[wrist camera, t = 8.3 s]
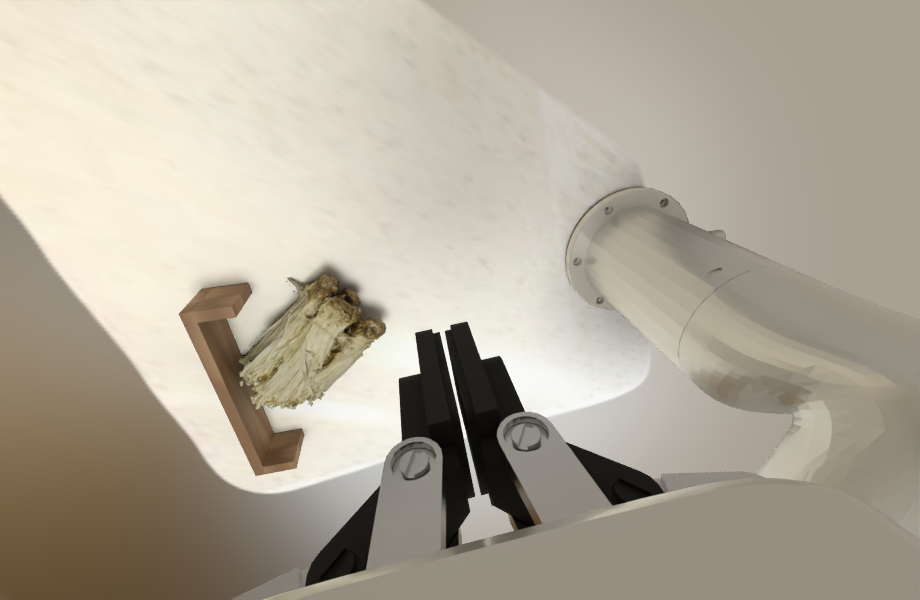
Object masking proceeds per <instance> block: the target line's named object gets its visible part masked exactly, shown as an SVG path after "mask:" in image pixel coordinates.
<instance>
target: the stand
mask: <svg viewBox="0 0 920 600" xmlns="http://www.w3.org/2000/svg"><path fill="white" fill-rule="evenodd" d="M251 293H252V291H251V288H250V286H249V283H243V284H235V285H228V286H221V287H213V288H206V289H201V290H200V291H199V292H198V293H197V295H196V296H195V297H194V298H193V299H192V300H191V301H190V302H189V303H188V304H187V306H186V307H185V308H184V309H183V310H182V311H181V312H180V313H179V316H180V318H181V320H182V322H183V324H184V326H185V328H186V330H187V332H188V334H189V337H190V339H191V341H192V343H193V345H194V347H195V349H196V351H197V353H198V355H199V358H200V360H201V362H202V364H203V366H204V368H205V370H206V372H207V374H208V376H209V379H210V381H211V383H212V385H213V387H214V389H215V391H216V393H217V395H218V397H219V400H220V402H221V404H222V406H223V408H224V410H225V412H226V414H227V416H228V419H229V421H230V423H231V425H232V427H233V429H234V431H235V433H236V435H237V437H238V440H239V442H240V444H241V446H242V448H243V450H244V452H245V454H246V456H247V458H248V461H249V463H250V465H251V467H252V469H253V471H254V473H255V475H256V476H258V475H263V474H268V473H274V472H279V471H284V470H290V469H295V468H297V464H298V459H299V455H300V451H301V446H302V442H303V438H304V433H303V431H302V429H297V430H291V431H286V432H280V433H273V431H272V428H271V426H270V423H269V421H268V419H267V416H266V414H265V411H264V409H263V406H261V405H260V408H259V409H256V410H255V407H256V405H257V404H253V403H252V400H251V399H250V398H251V394H254V393H255V391H253V390H252V385H253V384H251V385H249V386H248V385H246V381H245V380H244V379H243V377H240V375H239V372H240V371H241V372H243V369H244V365H243V364H241V363H239V360H240V358H242V356H241V353H240V351H239V349H238V346H237V344H236V341H235V339H234V336H233V334H232V332H231V329H230V327H229V324H228V322H227V320H226V319H227V318H234V317H237V315H238V313H239V312H240V310H241V309H242V307H243V306H244V304H245V303H246V301H247V300H248V298H249V296H250V295H251ZM241 381H243V386H240V383H239V382H241Z"/></svg>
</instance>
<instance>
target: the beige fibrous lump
mask: <svg viewBox="0 0 920 600" xmlns="http://www.w3.org/2000/svg"><path fill="white" fill-rule="evenodd" d="M288 280H289V281H290V282H291V283H292V284H293V285H294V286H296V288H297V291H298V294H299V298H298V300H297V301H296V302H295V303H294V305H293V306H292V307H291V308H290V309H288V310H287V311H286V313H285V314H284V315H283V316H282V317H281V318H280V319H279V320H278V321H277V322H276V323H274V324H273V325H272V326H271V327H269V328H268V329H267V330H266V331H265V332H264V333H263V334H262V335H261V336H259V337H258V338H257V339H259V338H263V339H262V340H261V341H260V342H259V343H258V344H257V345H255V346H254V347H253V348H251V349H250V351H249V353H248V355H247V356H246V357H244V358H240V360H239V363H241V364H243V365H244V369H243V372H241V371H240V372H239V375H240V377H243V379H244V380H245V381H246V385H248V386H249V385H251V384H253V385H252V390H253V391H255V393H254V394H251V398H250V399H251V400H252V403H253V404H257V405H256V407H255V410H256V409H259V408H260V405H261V406H264V405H267V406H268V407H269V408H271V409H272V408H274V406H275V407H276V406H281V408H282V409H283V408H285V407H287V408H290V409H293V408H294V409H295V408H296V406H297V405H298V404H303V402H304V401H306V400H308V401H309V404H310V405H311V406H312V405H313V402H311V401H312V400H313V401H315V400H316V399H318V398H319V399H320V400H321V398H322V397H323V396H324V394H323V392H326V391H327V390H328V389H329V388H330V387H331V385H332V384H333V383H334V382H335V381H336V380H337V379H338V378H339V377H341V376H342V375H343V374H344V373H345V372H346V371H347V370H348V369H349V368H350V367H351V366H352V365H353V364H354V363H355V362H356V360H357V359H359V358H360V357H361V356H363V353H362V352H363V351H364V350H365V349H367V348H369V347H370V346H371V343H372V342H374V341H373V340H375V339H378V338H379V337H380V336H382V335H383V334H384V333H385V331H386V326H385V323H383V322H382V320H381V318H380V319H377V320H376V319H375V320H373V319H371V318H369V319H367V320H364V321H363V319H362V316H361V315H362V310H361V308H360V307H358V306H357V305H359V303H360V301H359V297H358V296H357V294H356V293H355V291H354V290H353V291H351V290H350V289H347V288H345V290H344V291H338V288H337V286H338V283H339V281H338V279H336V278H335V277H333V276H327V274H323V275H322V276H321V277H320V278H318V280H316V281H315V282H314V283H312V284H310V285H309V284H306V285H305V286H300V285H298V284H296V283H295V282H294V281H293V280H292V278H288ZM286 282H287V281H286ZM289 286H290V285H289ZM293 292H295V291H293ZM255 340H256V339H255ZM255 340H254V341H255ZM252 343H253V342H252ZM252 343H251V344H252ZM251 344H250V345H251ZM250 345H249V346H250ZM239 383H240V386H243V381H241V382H239ZM309 404H308V405H309Z"/></svg>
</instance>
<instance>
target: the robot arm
mask: <svg viewBox="0 0 920 600" xmlns="http://www.w3.org/2000/svg"><path fill="white" fill-rule="evenodd" d="M605 208H606V209H605ZM575 258H576V259H575ZM574 259H575V260H574ZM566 269H567V275H568V278H569V281H570V283H571V285H572V286H573V288H574V290H575V291H576V292H577V293H578V294H579V295H580V296H581V297H582V298H583V299H584V300H585V301H587V302H588V303H589V304H591V305H593V306H596V307H599V308H603V309H614V310H618V311H619V312H620V313H621V314H622V315H623V316H624V317H625V318H626V319H627V320H628V321H629V322H630V323H631V324H632V325H634V326H635V327H636V328H637V329H638V330H639V331H640V332H641V333H642V334H643V335H644V336H645V337H646V338H647V339H648V340H649V341H650V342H651V343H652V344H653V345H654V346H656V347H657V348H658V349H659V350H660V351H661V352H662V353H663V354H664V355H665V356H666V357H667V358H668V359H669V360H670V361H671V362H672V363H673V364H675V366H677V367H678V368H679V369H680V370H681V371H682V372H683V373H684V374H685V375H686V376H687V377H688V378H689V379H690V380H691V381H693V383H695V384H696V385H697V386H698V387H699V388H700V389H701V390H702V391H704V392H705V393H706V394H707V395H709V396H710V397H712V398H713V399H715V400H717V401H719V402H721V403H723V404H726V405H728V406H730V407H734V408H737V409H742V410H746V411H751V412H760V413H775V414H792V424H791V426H790V428H789V430H788V431H787V433H786V434H785V435H784V437H783V438H782V440H781V441H780V442H779V443H778V444H777V446H776V449H775V450H774V451H773V453H772V454H771V455H770V456H769V457H768V459H767V460H766V461H765V462H764V463H763V464H762V465H761V467H760V468H759V469H758V470H757V471H756V473H749V472H714V473H713V472H712V473H679V474H662V475H661V479H652V478H651V477H650V476H648V475H646V474H644V473H642V472H640V471H638V470H635V469H632V468H630V467H628V466H625V465H623V464H620V463H617V462H615V461H612V460H610V459H607V458H605V457H602V456H599V455H597V454H595V453H592V452H590V451H587V450H584V449H582V448H579V447H577V446H574V445H572V444H569V443H567V442H565V441H564V440H563V438H562V437H561V435H560V434H559V433H558V431H557V430H556V429H555V427H554V426H553V425H552V423H551V422H550V421H549V420H548V419H547V418H545V417H543V416H542V415H540V414H537V413H533V412H525V411H524V408H523V406H522V404H521V401H520V399H519V397H518V395H517V392H516V390H515V388H514V386H513V383H512V381H511V379H510V376H509V374H508V372H507V370H506V367H505V365H504V363H503V360H502V358H501V357H500V356H497V357H493V358H488V359H484V360H481V358H480V356H479V353H478V350H477V347H476V345H475V342H474V339H473V336H472V334H471V331H470V328H469V325H468V323H467V322H463V323H458V324H454V325H450V326H451V330H447V331H445V335H446V340H447V345H448V350H449V355H450V360H451V365H452V370H453V376H454V381H455V386H456V391H457V396H458V401H459V405H460V409H461V413H462V417H463V422H464V426H465V430H466V434H467V438H468V442H469V446H470V450H471V455H472V459H473V463H474V467H475V471H476V475H477V479H478V483H479V487H480V492H481V495H484V494H488V493H489V497H490V500H491V504H492V506H493V505H494V506H495V507H497V508H499V509H501V510H502V511H504V512H506V513H508V516H509V520H510V523H511V525H512V527H513V529H514V531H513V532H509V533H505V534H501V535H497V536H493V537H489V538H485V539H482V540H478V541H474V542H470V543H466V544H463V545H462V535H461V529H460V526H461V524H462V523H463V522H464V520H465V519H466V517H467V516H468V514H469V513H470V508H469V503H468V498H472V497H475V493H474V488H473V483H472V478H471V473H470V468H469V463H468V458H467V453H466V448H465V443H464V438H463V433H462V428H461V423H460V418H459V414H458V409H457V405H456V401H455V396H454V392H453V388H452V384H451V379H450V375H449V371H448V366H447V362H446V358H445V353H444V349H443V345H442V341H441V336H440V332H438V333H433V332H432V329H430V330H426V331H421V332H417V333H415V335H416V342H417V350H418V357H419V365H420V372H421V374H417V375H412V376H408V377H403V378H399V394H400V412H401V430H402V442H400V443H398V444H397V445H396V446H395V447H394V448H392V449H391V451H390V452H389V454H388V455H387V457H386V460H385V463H384V468H383V474H382V479H381V485H380V486H379V487H378V489H377V490H376V491H375V492H374V493H373V494H372V495H371V496H370V497H369V499H368V500H367V501H366V502H365V503H364V504H363V505H362V506H361V507H360V508H359V510H358V511H357V512H356V513H355V514H354V515H353V516H352V517H351V519H350V520H349V521H348V522H347V523H346V524H345V525H344V526H343V527H342V528H341V530H340V531H339V532H338V533H337V534H336V535H335V536H334V537H333V538H332V539H331V541H330V542H329V543H328V544H327V545H326V546H325V547H324V548H323V550H322V551H321V552H320V553H319V554H318V556H317V557H316V558H315V560H314V561H313V562H312V564H311V566H310V567H308V568H306V569H304V570H302V571H300V570H299V568H298V567H297V568H295V569H293V570H291V571H289V572H287V573H285V574H283V575H281V576H279V577H277V578H275V579H273V580H271V581H269V582H267V583H265V584H263V585H261V586H258V587H256V588H254V589H252V590H250V591H248V592H246V593H244V594H242V595H240V596H238V597H236V598H234V599H232V600H920V319H917V318H914V317H912V316H908V315H906V314H903V313H900V312H897V311H894V310H891V309H888V308H885V307H882V306H879V305H877V304H874V303H872V302H869V301H866V300H864V299H861V298H859V297H856V296H854V295H851V294H848V293H846V292H844V291H841V290H839V289H836V288H834V287H832V286H829V285H827V284H825V283H822V282H820V281H818V280H815V279H813V278H811V277H809V276H806V275H804V274H802V273H799V272H797V271H795V270H793V269H790V268H788V267H786V266H784V265H781V264H779V263H777V262H774V261H772V260H770V259H767V258H766V257H763V256H761V255H759V254H757V253H754V252H752V251H750V250H748V249H745V248H743V247H741V246H739V245H736V244H734V243H732V242H729V241H727V240H726V235H725V232H724V231H722V230H716V231H709V232H707V231H705V230H702V229H700V228H698V227H696V226H694V225H691V224H689V222H688V218H687V216H686V213H685V211H684V209H683V208H682V207H681V205H680V204H679V203H678V202H677V201H676V200H675V199H674V198H672V197H671V196H669V195H667V194H665V193H663V192H661V191H658V190H654V189H651V188H641V187H638V188H630V189H626V190H622V191H619V192H616V193H614V194H612V195H610V196H608V197H606V198H605V199H603V200H602V201H600V202H599V203H598V204H596V205H595V206H594V207H592V209H591V210H590V211H589V212H588V213H587V214H586V215H585V216H584V217H583V218H582V220H581V221H580V223H579V224H578V225H577V227H576V228H575V231H574V233H573V235H572V237H571V239H570V242H569V246H568V249H567V256H566Z"/></svg>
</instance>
